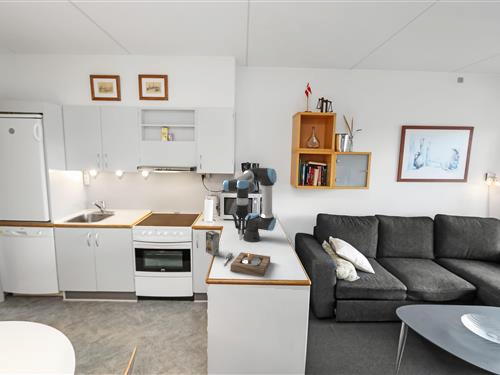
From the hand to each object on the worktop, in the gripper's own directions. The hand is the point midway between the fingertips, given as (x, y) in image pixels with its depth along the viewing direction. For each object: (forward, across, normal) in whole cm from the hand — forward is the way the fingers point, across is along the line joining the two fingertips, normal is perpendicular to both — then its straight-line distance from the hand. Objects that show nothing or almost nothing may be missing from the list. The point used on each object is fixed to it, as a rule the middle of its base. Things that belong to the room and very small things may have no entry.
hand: (241, 239), depth 169 cm
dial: (+18, +6, +5) cm, 19 cm away
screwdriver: (+20, -12, +8) cm, 25 cm away
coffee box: (+20, -28, +17) cm, 38 cm away
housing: (+20, +6, +5) cm, 21 cm away
